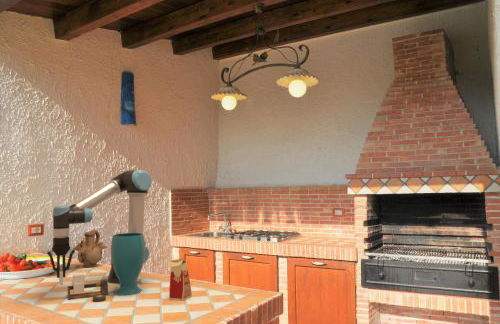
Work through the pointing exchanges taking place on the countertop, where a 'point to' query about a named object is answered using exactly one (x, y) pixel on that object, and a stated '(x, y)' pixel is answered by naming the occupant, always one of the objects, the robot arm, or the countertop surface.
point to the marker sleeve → (78, 283)
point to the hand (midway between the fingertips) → (61, 284)
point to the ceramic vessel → (90, 249)
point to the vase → (128, 261)
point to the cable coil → (99, 298)
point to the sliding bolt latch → (103, 291)
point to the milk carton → (179, 281)
